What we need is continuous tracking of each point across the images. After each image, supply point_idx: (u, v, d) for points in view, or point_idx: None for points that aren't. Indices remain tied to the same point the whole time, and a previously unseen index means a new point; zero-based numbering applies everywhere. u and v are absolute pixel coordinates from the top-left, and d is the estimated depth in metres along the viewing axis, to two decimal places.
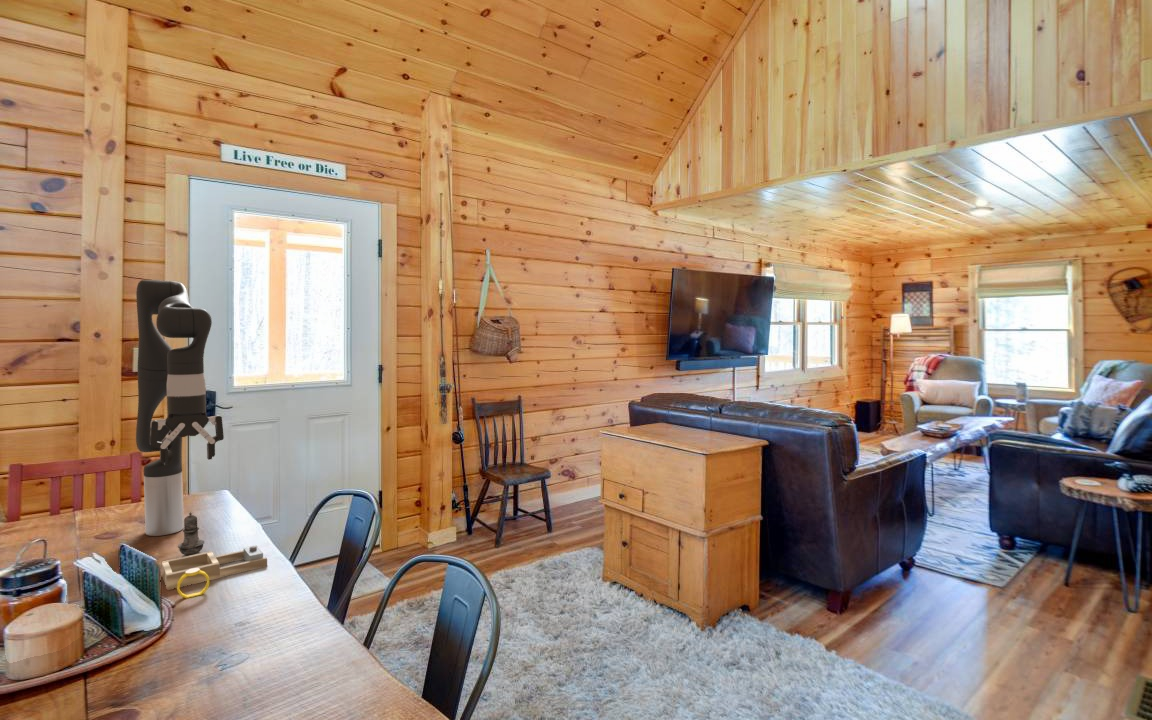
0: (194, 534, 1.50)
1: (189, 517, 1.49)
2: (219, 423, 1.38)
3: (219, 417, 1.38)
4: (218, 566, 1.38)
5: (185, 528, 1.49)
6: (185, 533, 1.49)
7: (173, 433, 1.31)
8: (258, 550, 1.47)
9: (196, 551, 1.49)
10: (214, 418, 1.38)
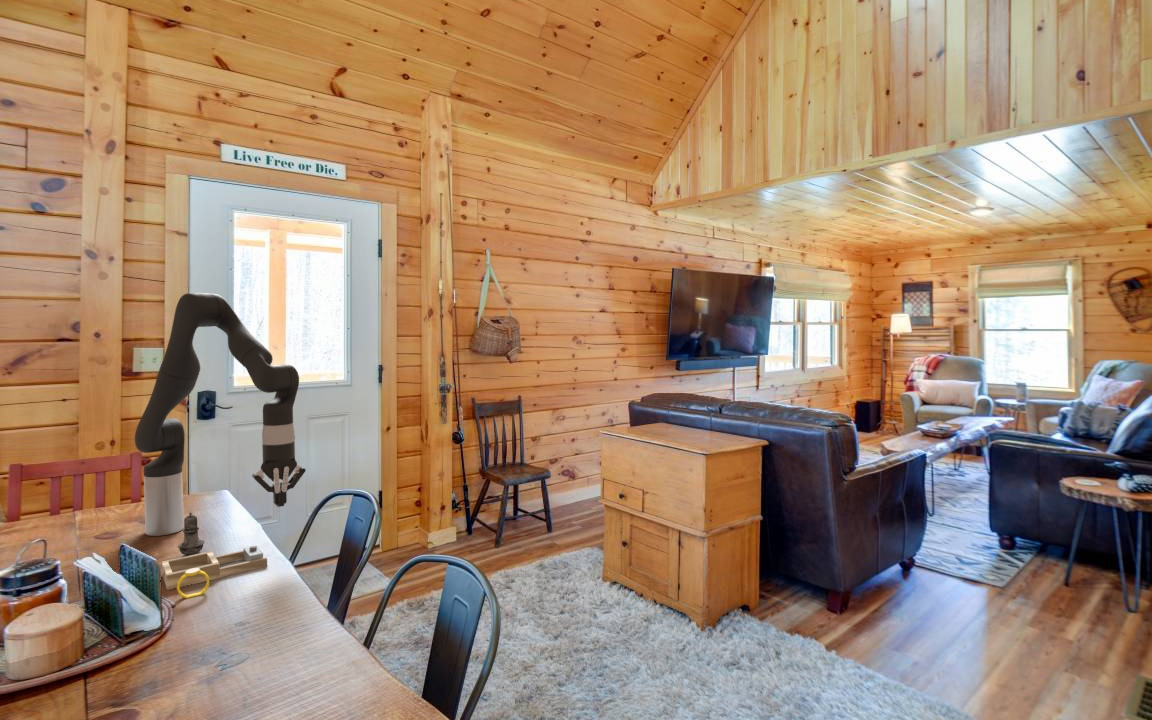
0: (194, 534, 1.50)
1: (189, 517, 1.49)
2: (300, 474, 1.53)
3: (304, 470, 1.54)
4: (218, 566, 1.38)
5: (185, 528, 1.49)
6: (185, 533, 1.49)
7: (275, 479, 1.49)
8: (258, 550, 1.47)
9: (196, 551, 1.49)
10: (299, 468, 1.54)
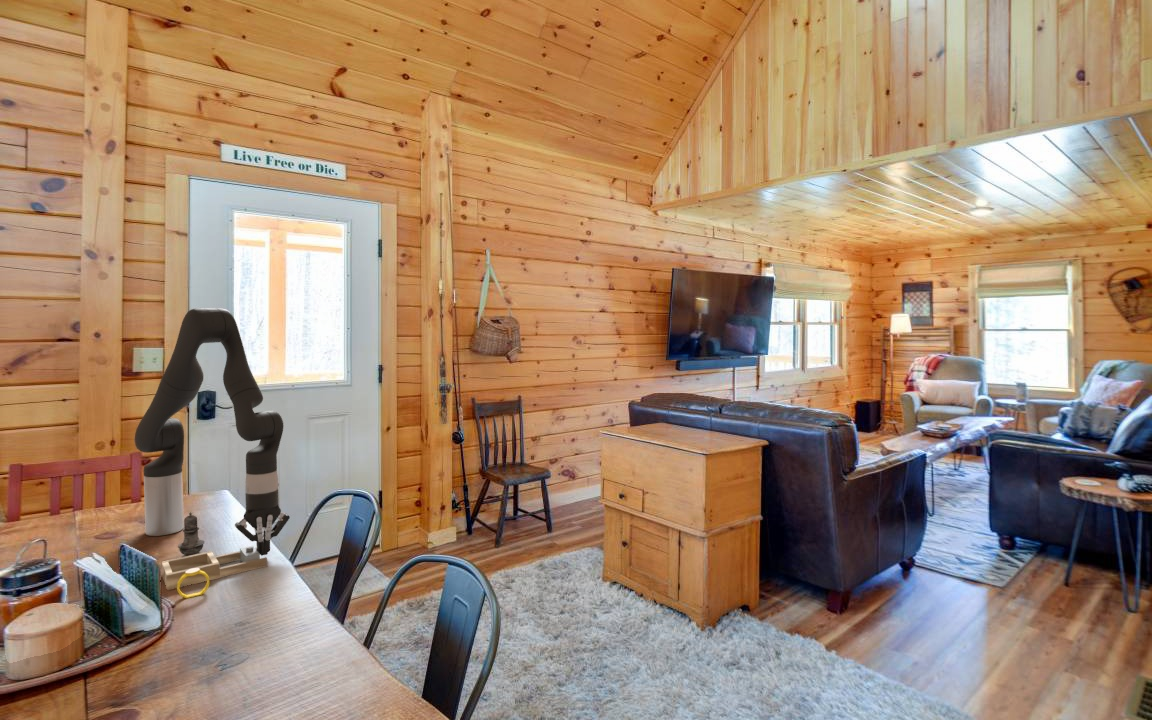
0: (194, 534, 1.50)
1: (189, 517, 1.49)
2: (284, 521, 1.51)
3: (288, 517, 1.52)
4: (218, 566, 1.38)
5: (185, 528, 1.49)
6: (185, 533, 1.49)
7: (258, 527, 1.47)
8: (255, 551, 1.47)
9: (196, 551, 1.49)
10: (283, 515, 1.52)
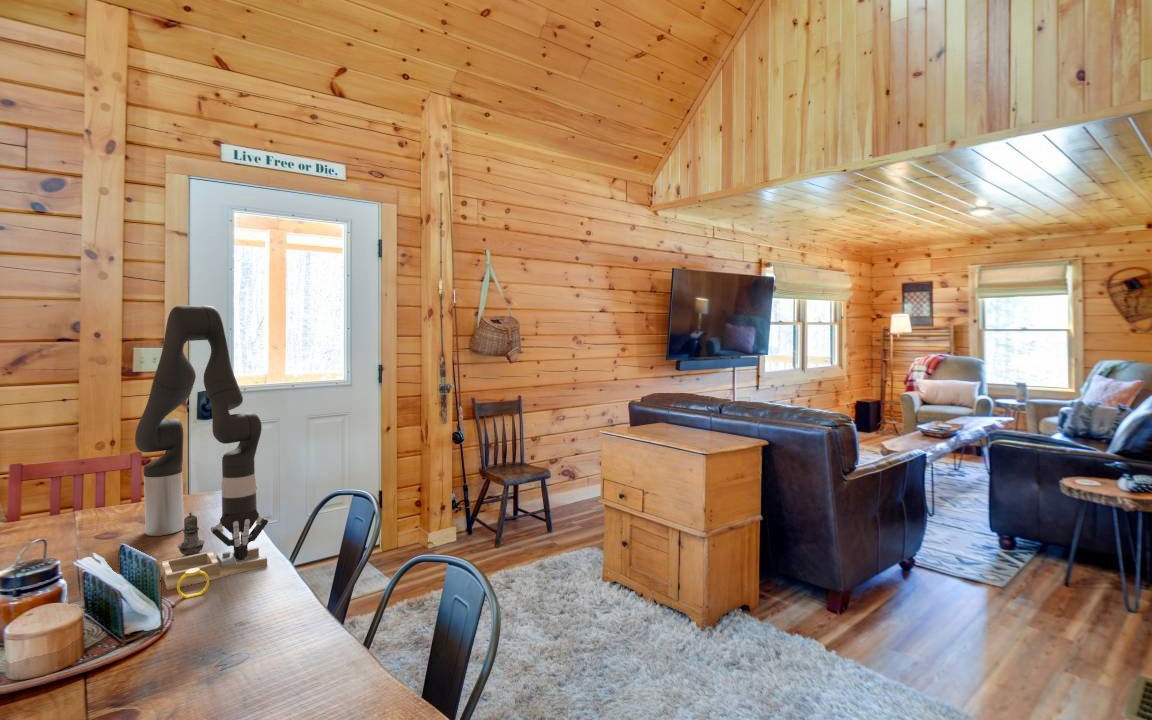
0: (194, 534, 1.50)
1: (189, 517, 1.49)
2: (262, 526, 1.48)
3: (266, 521, 1.48)
4: (218, 566, 1.38)
5: (185, 528, 1.49)
6: (185, 533, 1.49)
7: (235, 532, 1.43)
8: (231, 556, 1.43)
9: (196, 551, 1.49)
10: (261, 519, 1.48)
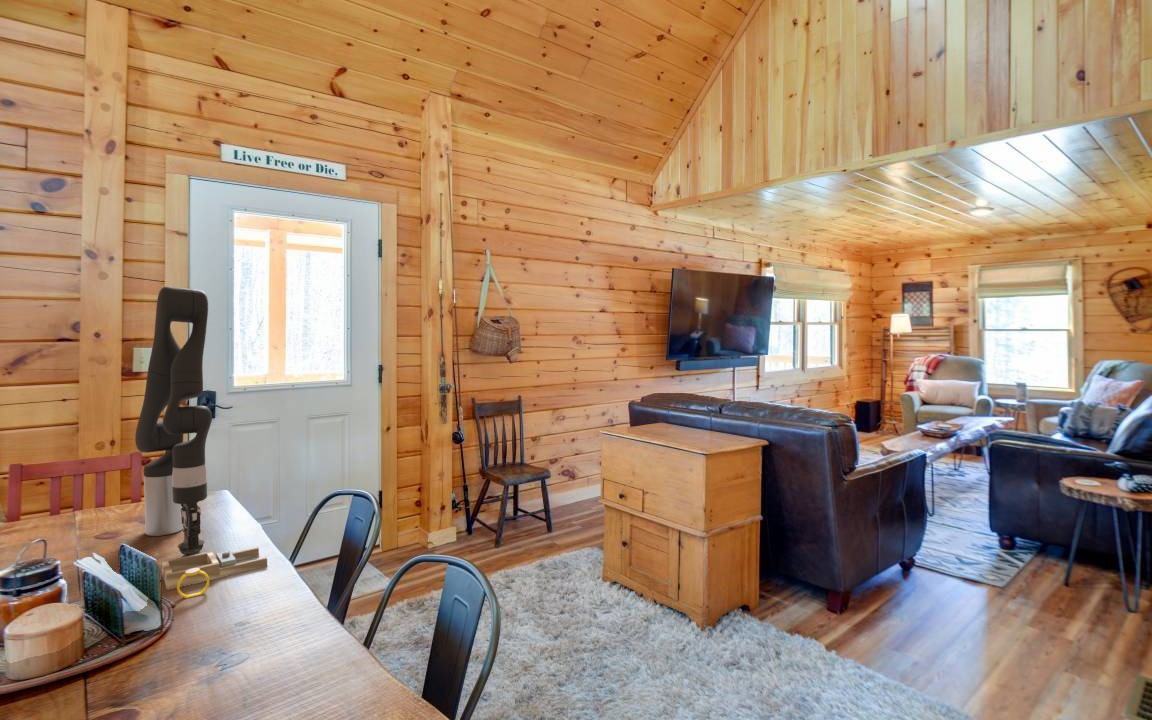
0: None
1: None
2: (188, 520, 1.45)
3: (188, 515, 1.44)
4: (218, 566, 1.38)
5: (185, 528, 1.49)
6: (185, 533, 1.49)
7: (181, 516, 1.51)
8: (231, 556, 1.43)
9: (196, 551, 1.49)
10: None
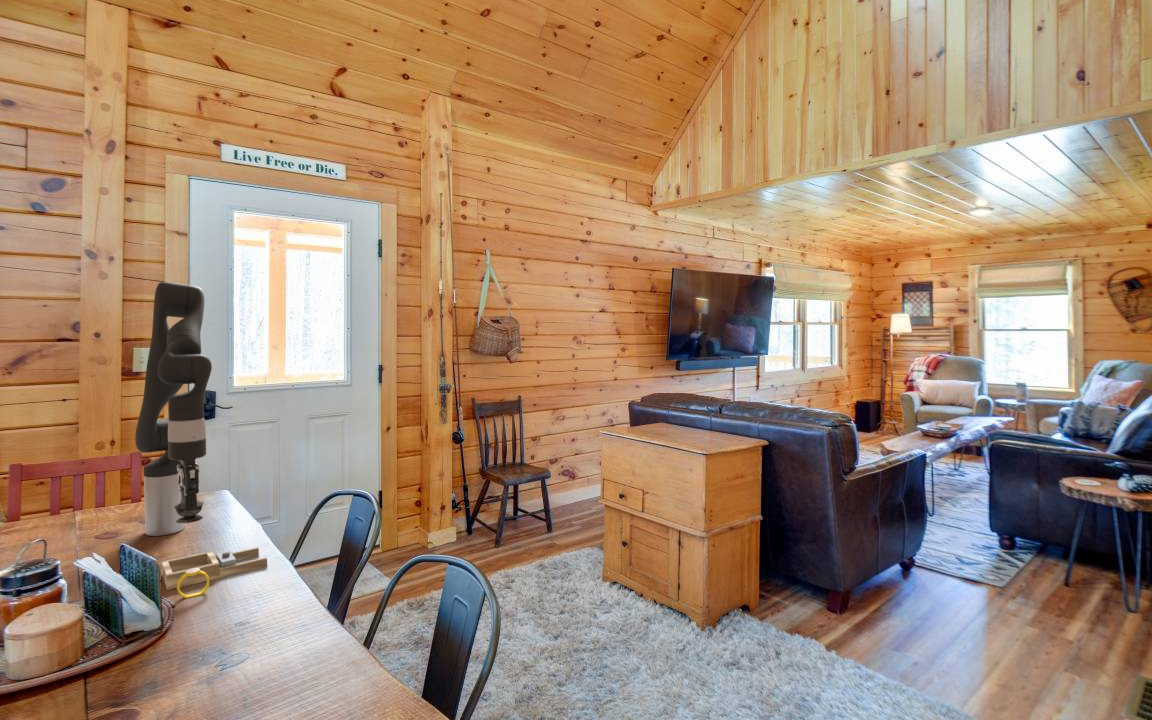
0: None
1: None
2: (185, 477, 1.32)
3: (185, 472, 1.32)
4: (218, 566, 1.38)
5: (182, 487, 1.36)
6: (182, 493, 1.36)
7: (178, 475, 1.38)
8: (231, 556, 1.43)
9: (194, 512, 1.37)
10: None
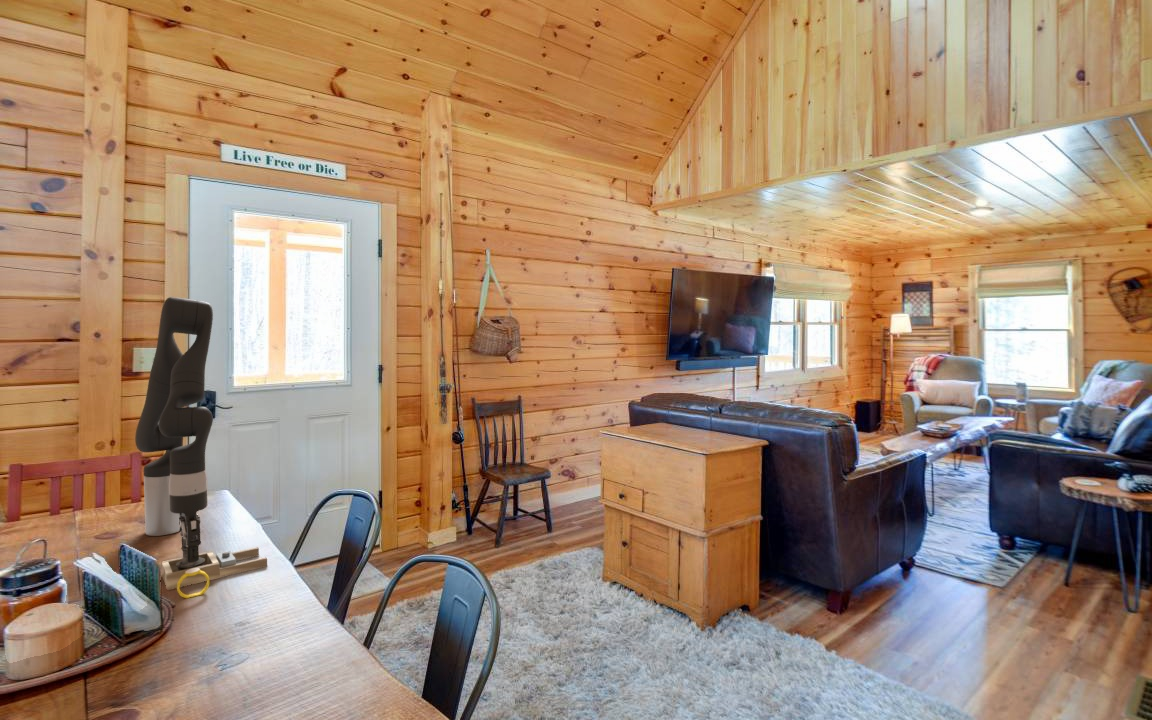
0: None
1: None
2: (187, 529, 1.32)
3: (186, 523, 1.32)
4: (218, 566, 1.38)
5: (184, 545, 1.37)
6: (184, 551, 1.37)
7: (179, 525, 1.39)
8: (231, 556, 1.43)
9: None
10: None
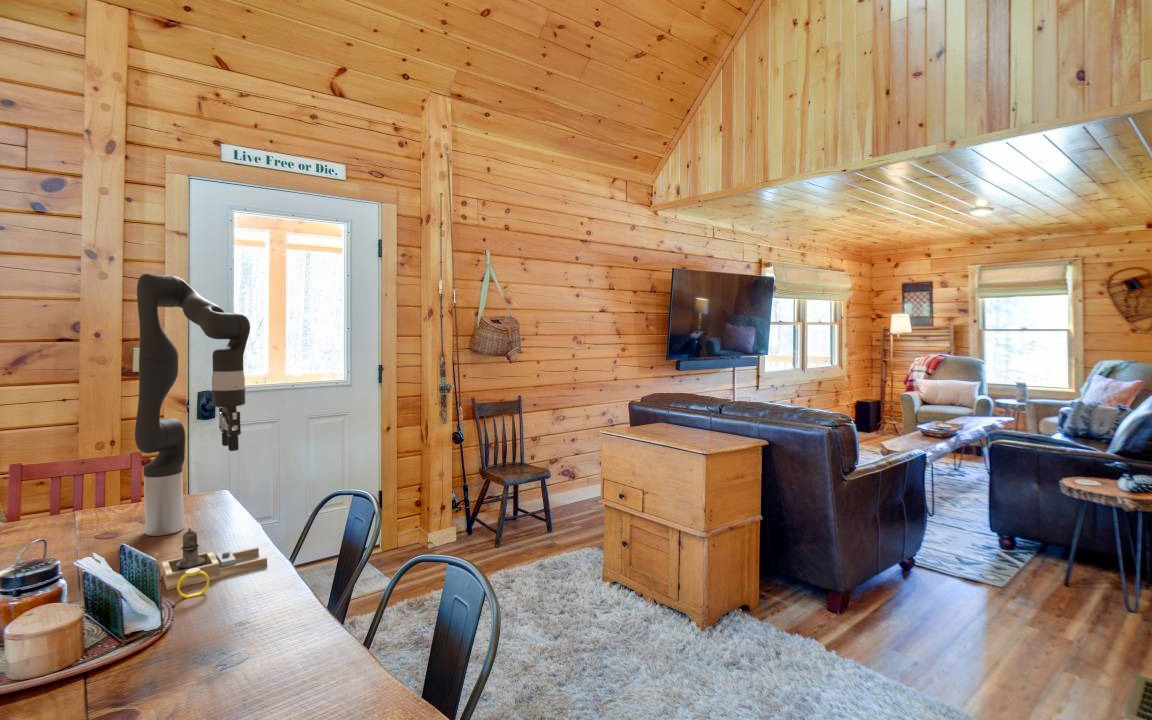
0: (194, 552, 1.38)
1: (188, 533, 1.38)
2: (229, 419, 1.48)
3: (228, 413, 1.47)
4: (218, 566, 1.38)
5: (184, 545, 1.37)
6: (184, 551, 1.37)
7: (220, 420, 1.54)
8: (231, 556, 1.43)
9: None
10: None
